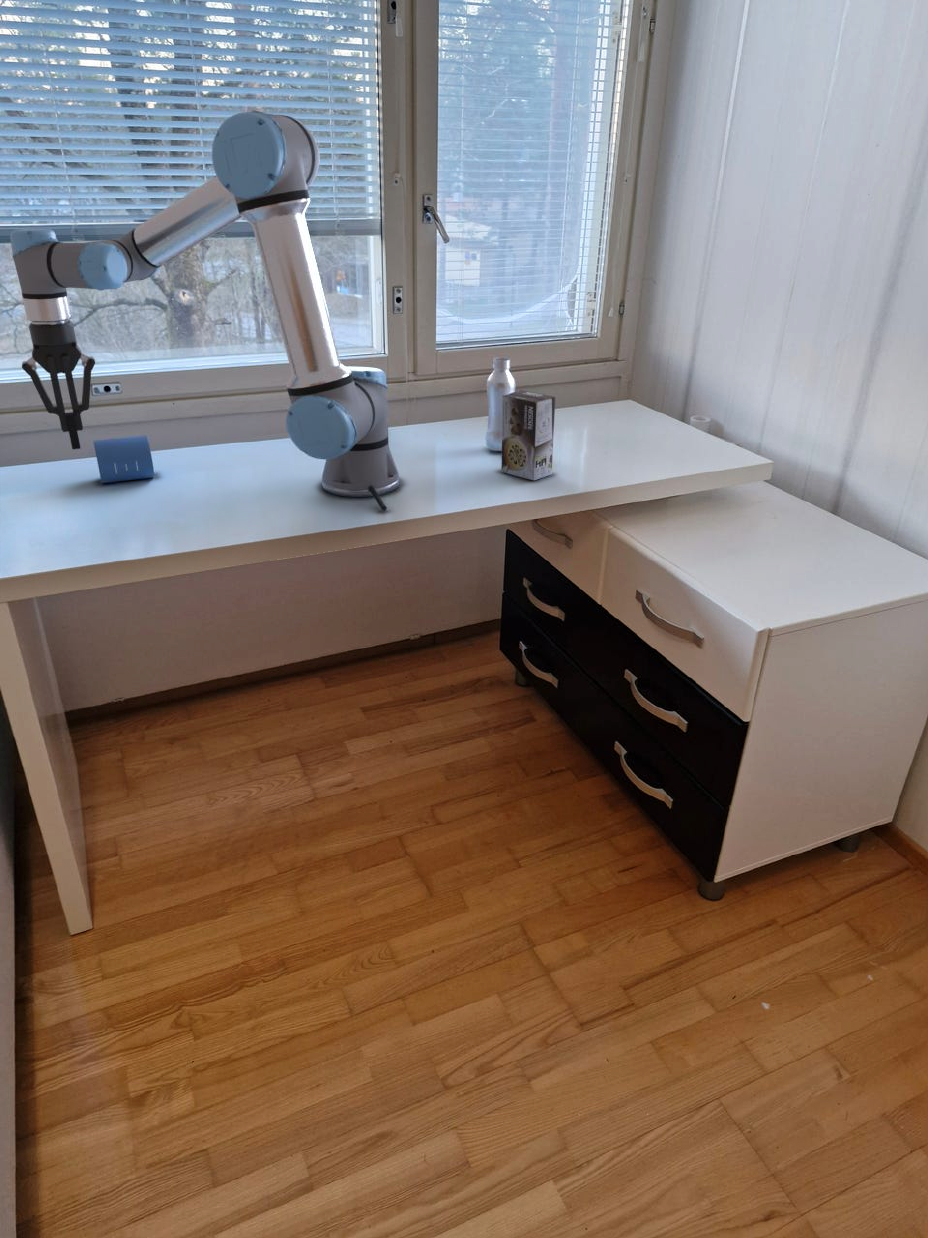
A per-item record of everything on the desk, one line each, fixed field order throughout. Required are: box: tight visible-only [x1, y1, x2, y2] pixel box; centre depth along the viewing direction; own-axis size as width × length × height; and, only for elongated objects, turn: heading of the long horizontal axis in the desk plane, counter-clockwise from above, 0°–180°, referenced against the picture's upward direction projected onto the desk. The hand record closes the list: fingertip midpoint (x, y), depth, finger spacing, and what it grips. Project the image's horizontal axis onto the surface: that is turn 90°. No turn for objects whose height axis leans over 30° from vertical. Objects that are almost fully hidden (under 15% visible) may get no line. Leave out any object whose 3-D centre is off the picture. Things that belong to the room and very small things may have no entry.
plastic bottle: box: [485, 357, 517, 452], centre depth 191 cm, size 6×7×20 cm
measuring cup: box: [93, 434, 155, 484], centre depth 174 cm, size 10×8×8 cm
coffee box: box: [500, 389, 556, 481], centre depth 177 cm, size 9×6×16 cm
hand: (76, 446), depth 170 cm, fingers closed
